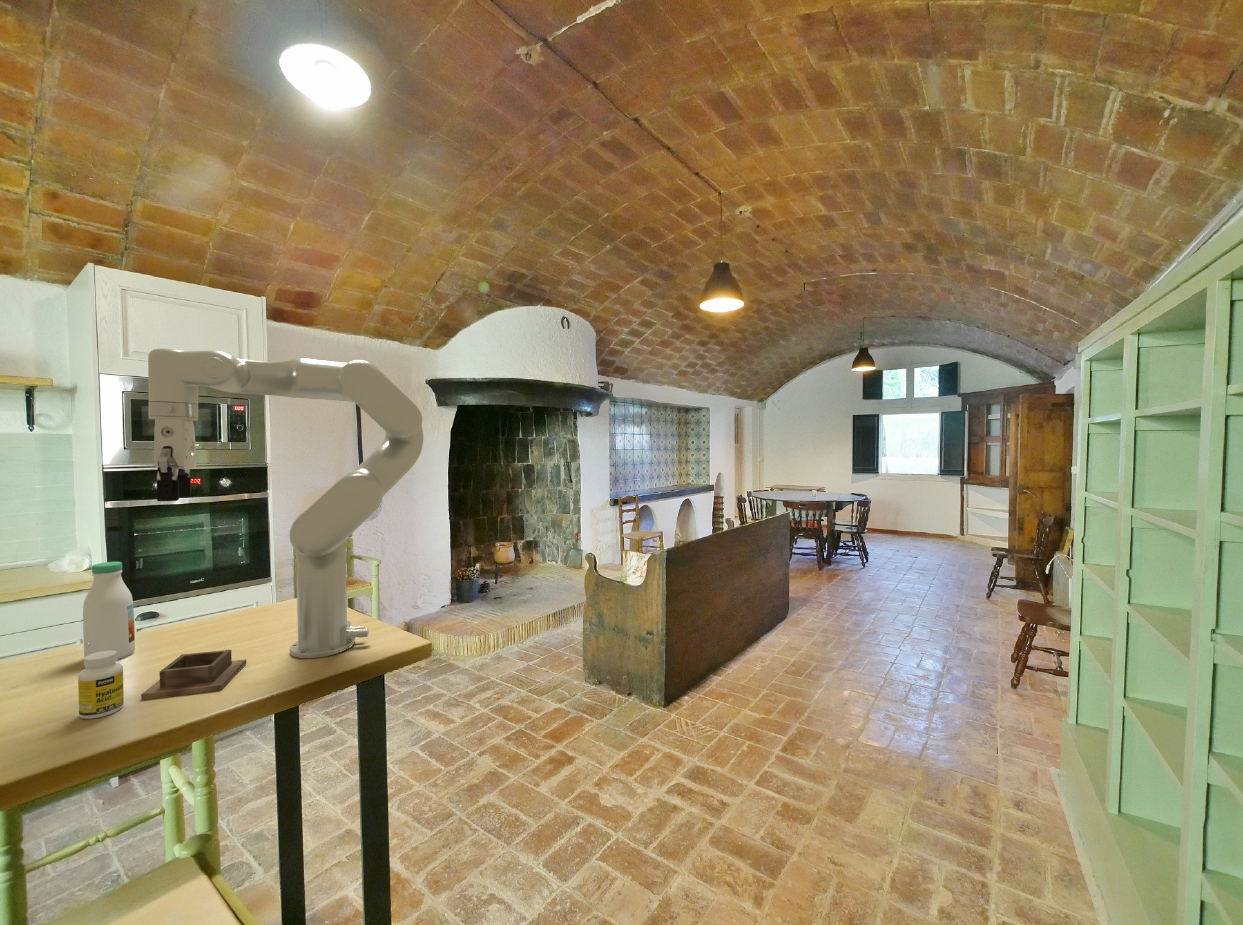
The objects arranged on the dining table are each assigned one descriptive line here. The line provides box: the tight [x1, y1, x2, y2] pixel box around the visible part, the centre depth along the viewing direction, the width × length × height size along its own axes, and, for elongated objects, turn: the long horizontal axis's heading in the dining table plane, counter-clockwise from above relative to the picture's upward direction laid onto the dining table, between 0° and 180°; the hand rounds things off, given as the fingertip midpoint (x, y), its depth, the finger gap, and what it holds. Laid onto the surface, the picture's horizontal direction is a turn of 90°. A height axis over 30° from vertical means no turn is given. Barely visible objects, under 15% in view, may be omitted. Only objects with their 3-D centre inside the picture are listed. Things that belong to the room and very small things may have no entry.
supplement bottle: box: [77, 650, 125, 720], centre depth 89 cm, size 5×5×10 cm
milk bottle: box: [82, 561, 136, 660], centre depth 111 cm, size 8×8×20 cm
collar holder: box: [140, 649, 247, 701], centre depth 100 cm, size 12×12×4 cm
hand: (174, 498), depth 105 cm, fingers open, 9 cm apart
